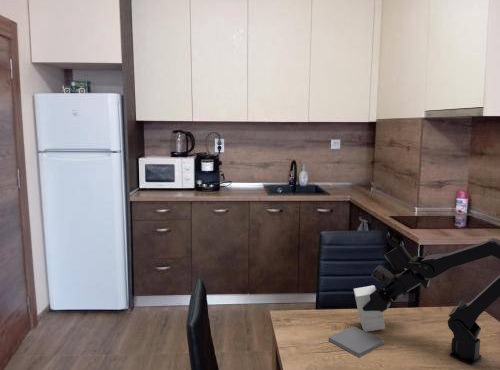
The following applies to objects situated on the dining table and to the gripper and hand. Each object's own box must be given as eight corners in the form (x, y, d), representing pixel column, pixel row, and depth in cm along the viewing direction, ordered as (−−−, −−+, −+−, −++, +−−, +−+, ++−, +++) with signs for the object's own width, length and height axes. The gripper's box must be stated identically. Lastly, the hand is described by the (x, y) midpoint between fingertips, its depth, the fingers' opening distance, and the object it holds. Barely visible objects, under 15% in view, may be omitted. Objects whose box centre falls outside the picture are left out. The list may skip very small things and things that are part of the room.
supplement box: (381, 319, 141) (374, 284, 140) (385, 329, 134) (378, 292, 133) (360, 322, 142) (353, 288, 141) (363, 332, 135) (355, 296, 134)
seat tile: (383, 344, 128) (383, 340, 128) (359, 357, 121) (359, 353, 121) (352, 329, 137) (352, 325, 137) (328, 340, 130) (328, 337, 130)
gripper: (397, 253, 139) (363, 276, 147) (378, 268, 124) (342, 292, 133) (419, 281, 136) (383, 303, 144) (402, 300, 121) (363, 323, 129)
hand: (368, 304), depth 138 cm, fingers closed on supplement box, 9 cm apart
